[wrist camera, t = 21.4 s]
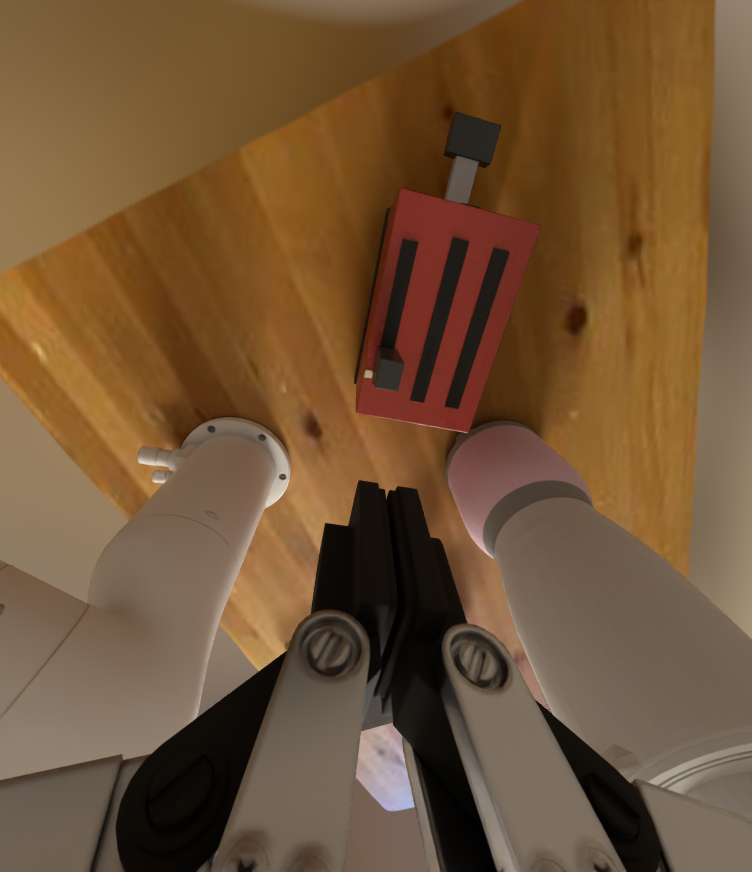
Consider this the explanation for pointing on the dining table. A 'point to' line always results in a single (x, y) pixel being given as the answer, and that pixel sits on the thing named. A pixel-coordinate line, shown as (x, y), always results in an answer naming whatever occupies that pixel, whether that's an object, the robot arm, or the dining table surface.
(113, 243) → the dining table surface
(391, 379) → the browning slider
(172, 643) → the robot arm
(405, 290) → the toaster
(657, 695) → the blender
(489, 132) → the bread lever
